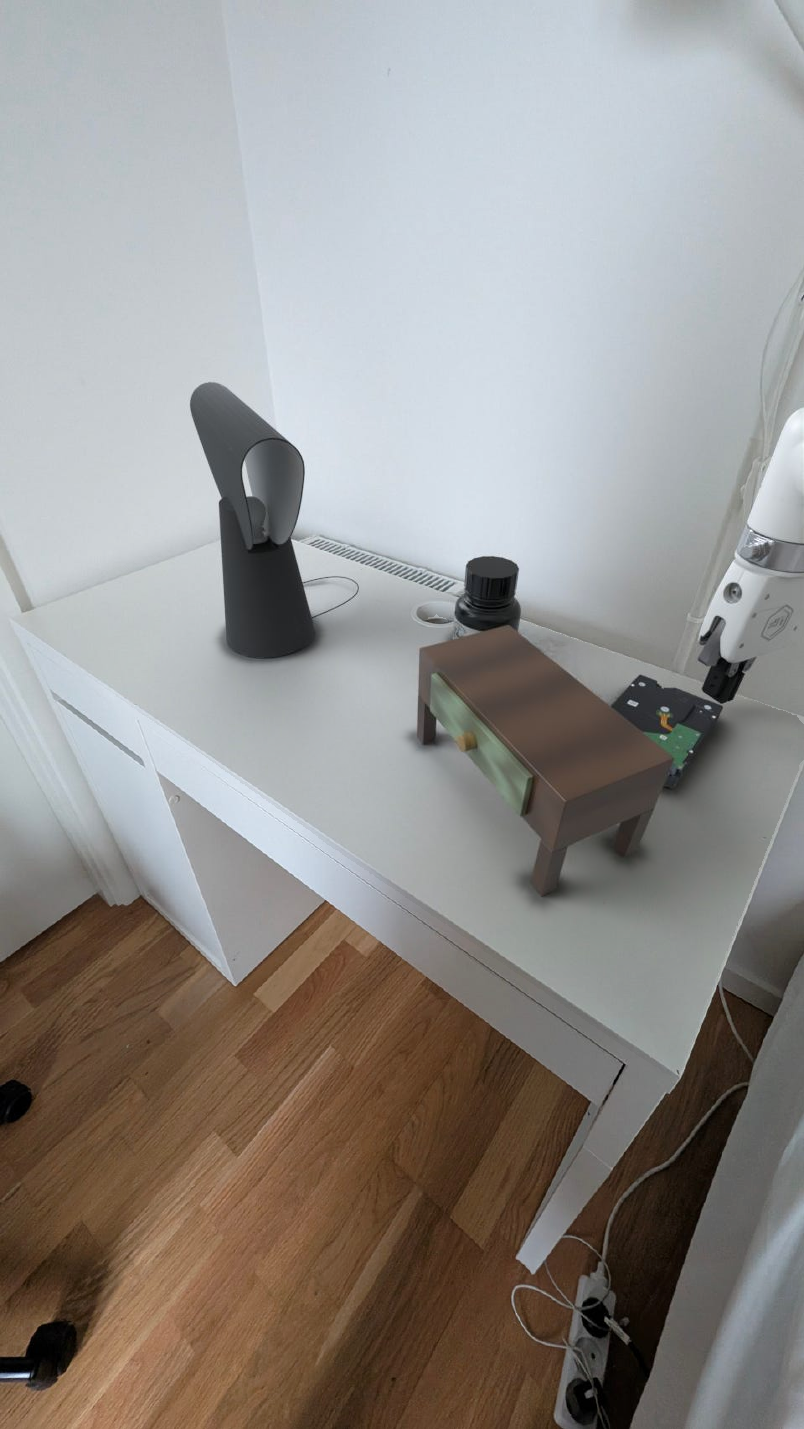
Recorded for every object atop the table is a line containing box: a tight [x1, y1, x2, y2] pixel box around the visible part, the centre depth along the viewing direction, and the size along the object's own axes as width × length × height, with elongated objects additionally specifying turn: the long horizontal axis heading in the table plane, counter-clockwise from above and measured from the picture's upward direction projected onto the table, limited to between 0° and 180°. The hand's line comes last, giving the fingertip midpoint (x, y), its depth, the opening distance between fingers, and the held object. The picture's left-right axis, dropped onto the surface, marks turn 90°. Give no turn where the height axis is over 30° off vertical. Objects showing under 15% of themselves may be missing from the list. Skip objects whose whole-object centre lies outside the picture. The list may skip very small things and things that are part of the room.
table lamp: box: [189, 381, 360, 659], centre depth 80 cm, size 40×28×30 cm
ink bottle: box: [452, 555, 522, 640], centre depth 78 cm, size 10×9×12 cm
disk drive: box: [610, 674, 724, 789], centre depth 66 cm, size 10×3×15 cm
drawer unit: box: [416, 625, 675, 897], centre depth 56 cm, size 24×13×12 cm, turn 26°
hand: (716, 695), depth 69 cm, fingers closed
